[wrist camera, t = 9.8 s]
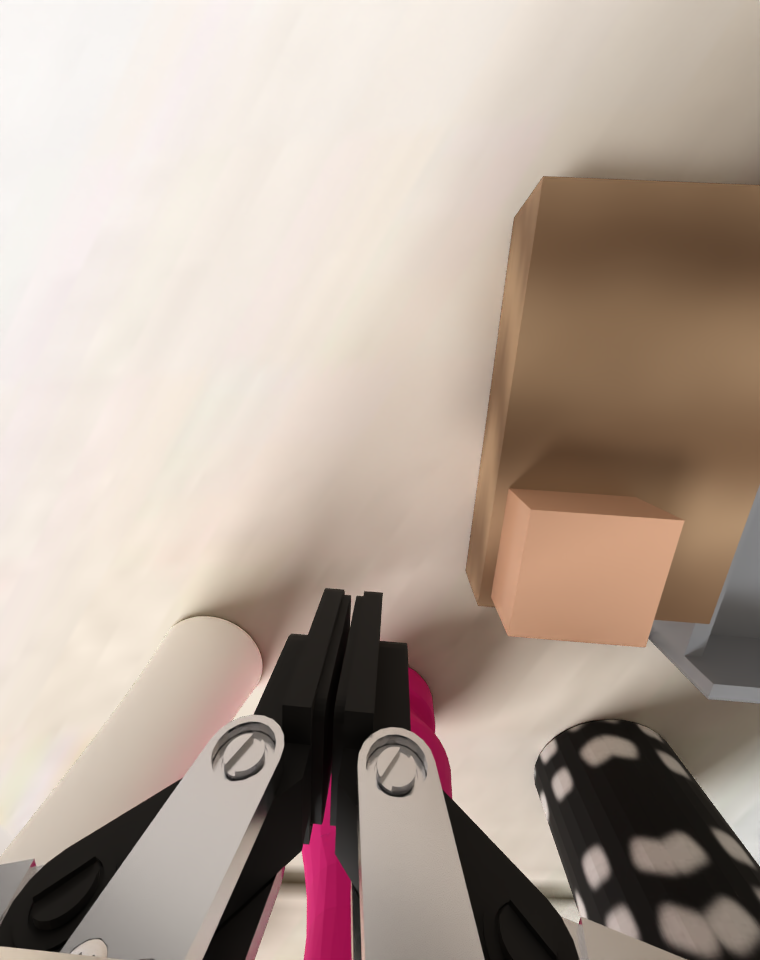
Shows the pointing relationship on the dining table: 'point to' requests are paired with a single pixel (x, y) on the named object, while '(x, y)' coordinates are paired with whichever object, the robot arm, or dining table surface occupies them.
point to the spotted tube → (647, 843)
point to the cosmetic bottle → (148, 734)
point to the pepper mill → (323, 869)
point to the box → (724, 629)
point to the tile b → (582, 566)
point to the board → (630, 367)
